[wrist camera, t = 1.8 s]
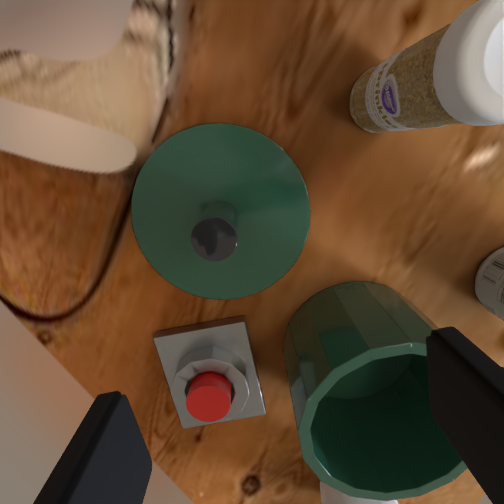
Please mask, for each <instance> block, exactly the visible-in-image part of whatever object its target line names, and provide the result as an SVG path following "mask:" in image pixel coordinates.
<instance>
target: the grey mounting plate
mask: <svg viewBox="0 0 504 504" xmlns="http://www.w3.org/2000/svg"><path fill="white" fill-rule="evenodd" d="M153 339H154V342H155V345H156V348H157V351H158V354H159V357H160V360H161V363H162V366H163V370H164V373H165V376H166V379H167V382H168V385H169V388H170V392H171V395H172V398H173V401H174V404H175V407H176V409H177V412H178V415H179V418H180V421H181V424H182V427H183V429H184V428H190V427H196V426H202V425H208V424H214V423H219V422H225V421H231V420H237V419H243V418H249V417H254V416H260V415H266V409H265V402H264V398H263V393H262V389H261V384H260V380H259V376H258V371H257V367H256V362H255V358H254V354H253V349H252V345H251V340H250V336H249V332H248V327H247V323H246V318H245V315H243V316H237V317H232V318H227V319H221V320H216V321H210V322H205V323H199V324H194V325H189V326H183V327H178V328H172V329H167V330H161V331H157V332H156V334H155V336H154V338H153ZM205 372H215V373H218V374H221V375H222V376H224V377H225V378H226V379H227V380H228V381H229V383H230V385H231V406H230V410H229V412H228V413H227V415H226V416H225V417H223V418H222V419H220V420H218V421H214V422H203V421H200V420H197V419H195V418H194V417H193V416H191V415H190V413H189V412H188V410H187V407H186V399H187V395H188V390H189V386H190V383H191V381H192V380H193V379H194V378H195V377H196V376H197V375H199V374H202V373H205Z"/></svg>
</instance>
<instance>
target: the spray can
mask: <svg viewBox="0 0 504 504" xmlns="http://www.w3.org/2000/svg"><path fill="white" fill-rule="evenodd" d="M475 293H476V295H477V297H478V299H479V300H480V302H481V303H482V304H483V306H484V307H485V308H487V309H488V310H489V311H490V312H492V313H493V314H495V315H496V316H498V317H499V318H501V319H502V320H504V247H502V248H500V249H498V250H496V251H494V252H493V253H491V254H490V255H489V256H488V257H487V258H486V259H485V260H484V261H483V262H482V263H481V264H480V267H479V270H478V272H477V275H476V278H475Z"/></svg>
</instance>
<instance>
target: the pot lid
mask: <svg viewBox="0 0 504 504" xmlns="http://www.w3.org/2000/svg"><path fill="white" fill-rule="evenodd" d="M131 216H132V225H133V229H134V233H135V236H136V239H137V242H138V244H139V247H140V248H141V250H142V252H143V254H144V256H145V257H146V259H147V260H148V262H149V263H150V264H151V266H152V267H153V268H154V269H155V270H156V271H157V272H158V273H159V274H160V275H161V276H162V277H163V278H164V279H166V280H167V281H168V282H170V283H171V284H173V285H174V286H176V287H177V288H179V289H181V290H183V291H185V292H188V293H190V294H193V295H196V296H200V297H204V298H209V299H218V300H223V299H237V298H242V297H246V296H250V295H253V294H255V293H258V292H260V291H262V290H264V289H266V288H268V287H270V286H271V285H272V284H274V283H275V282H277V281H278V280H279V279H280V278H282V277H283V276H284V275H285V274H286V273H287V272H288V271H289V269H290V268H291V267H292V266H293V265H294V263H295V262H296V260H297V259H298V257H299V255H300V253H301V251H302V249H303V247H304V245H305V242H306V239H307V236H308V231H309V226H310V201H309V196H308V192H307V188H306V185H305V182H304V180H303V177H302V175H301V173H300V171H299V169H298V168H297V166H296V165H295V163H294V162H293V160H292V159H291V158H290V156H289V155H288V154H287V153H286V152H285V151H284V150H283V149H282V148H281V147H280V146H279V145H277V144H276V143H275V142H274V141H272V140H271V139H269V138H268V137H266V136H264V135H263V134H261V133H259V132H257V131H254V130H252V129H250V128H246V127H243V126H239V125H234V124H227V123H211V124H204V125H198V126H195V127H191V128H188V129H186V130H183V131H181V132H179V133H177V134H175V135H173V136H172V137H170V138H169V139H167V140H166V141H164V142H163V143H162V144H161V145H160V146H159V147H157V148H156V149H155V151H154V152H153V153H152V154H151V155H150V156H149V157H148V159H147V160H146V162H145V163H144V165H143V167H142V168H141V170H140V173H139V175H138V177H137V179H136V183H135V186H134V189H133V195H132V201H131Z"/></svg>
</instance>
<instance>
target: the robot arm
mask: <svg viewBox="0 0 504 504" xmlns="http://www.w3.org/2000/svg"><path fill="white" fill-rule="evenodd" d="M426 350H427V366H428V382H429V398H430V409H431V413H432V416H433V418H434V420H435V421H436V423H437V424H438V426H439V427H440V428H441V430H442V431H443V433H444V434H445V436H446V437H447V439H448V440H449V441H450V443H451V444H452V446H453V447H454V449H455V450H456V451H457V453H458V454H459V456H460V457H461V459H462V460H463V462H464V463H465V464H466V466H467V467H468V469H469V470H470V472H471V473H472V474H473V476H474V477H475V479H476V480H477V482H478V483H479V485H480V486H481V487H482V489H483V490H484V492H485V493H486V495H487V496H488V497H489V499H490V500H491V502H492V503H493V504H504V368H503V367H500V366H499V365H498V364H497V363H495V362H494V361H493V360H492V359H491V358H490V357H488V356H487V355H486V354H485V353H484V352H483V351H481V350H480V349H479V348H478V347H477V346H476V345H474V344H473V343H472V342H471V341H470V340H469V339H467V338H466V337H465V336H464V335H463V334H462V333H460V332H459V331H458V330H457V329H456V328H454V327H446V328H441V329H436V330H432V331H431V336H427V337H426ZM151 471H152V460H151V457H150V454H149V452H148V449H147V447H146V444H145V442H144V439H143V436H142V434H141V431H140V429H139V426H138V424H137V421H136V419H135V416H134V414H133V411H132V409H131V406H130V404H129V401H128V398H127V397H126V395H121V393H120V392H119V391H114V392H109V393H104V394H100V395H98V396H97V397H96V399H95V401H94V402H93V404H92V406H91V407H90V409H89V411H88V412H87V414H86V416H85V417H84V419H83V421H82V422H81V424H80V426H79V427H78V429H77V431H76V432H75V434H74V436H73V438H72V439H71V441H70V443H69V444H68V446H67V448H66V449H65V451H64V453H63V454H62V456H61V458H60V460H59V461H58V463H57V465H56V466H55V468H54V469H53V471H52V473H51V474H50V476H49V478H48V480H47V481H46V483H45V485H44V486H43V488H42V490H41V491H40V493H39V495H38V496H37V498H36V500H35V501H34V503H33V504H142V503H143V499H144V496H145V493H146V489H147V486H148V482H149V479H150V475H151Z"/></svg>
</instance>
